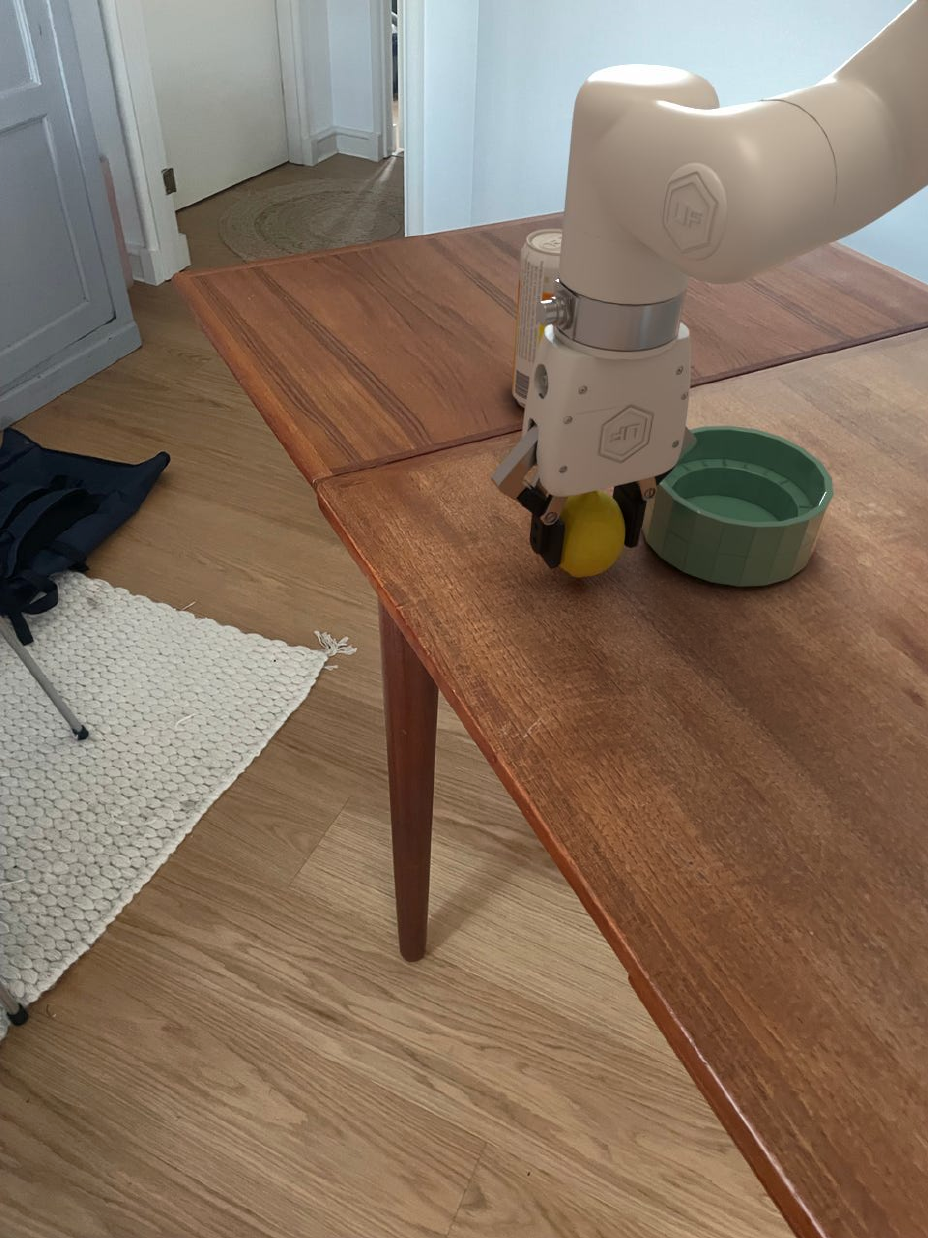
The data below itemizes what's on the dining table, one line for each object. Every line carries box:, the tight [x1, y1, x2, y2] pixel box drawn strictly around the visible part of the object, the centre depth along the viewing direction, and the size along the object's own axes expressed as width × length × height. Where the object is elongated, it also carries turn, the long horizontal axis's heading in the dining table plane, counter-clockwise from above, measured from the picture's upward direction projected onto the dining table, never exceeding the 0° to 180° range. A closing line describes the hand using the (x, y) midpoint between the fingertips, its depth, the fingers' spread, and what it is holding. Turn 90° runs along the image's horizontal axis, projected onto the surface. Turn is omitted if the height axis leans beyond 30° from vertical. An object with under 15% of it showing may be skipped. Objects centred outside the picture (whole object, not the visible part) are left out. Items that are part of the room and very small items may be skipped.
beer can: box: [511, 228, 562, 409], centre depth 83 cm, size 6×6×15 cm
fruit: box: [559, 490, 625, 579], centre depth 67 cm, size 6×6×8 cm
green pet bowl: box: [641, 425, 835, 588], centre depth 72 cm, size 13×13×6 cm
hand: (584, 544), depth 68 cm, fingers closed on fruit, 5 cm apart
